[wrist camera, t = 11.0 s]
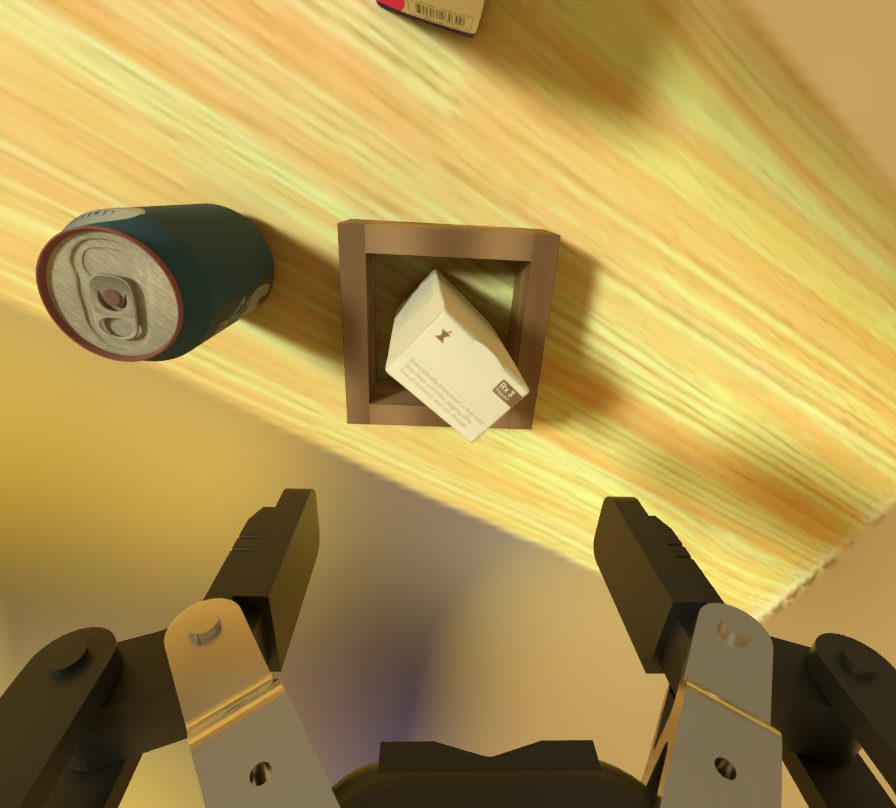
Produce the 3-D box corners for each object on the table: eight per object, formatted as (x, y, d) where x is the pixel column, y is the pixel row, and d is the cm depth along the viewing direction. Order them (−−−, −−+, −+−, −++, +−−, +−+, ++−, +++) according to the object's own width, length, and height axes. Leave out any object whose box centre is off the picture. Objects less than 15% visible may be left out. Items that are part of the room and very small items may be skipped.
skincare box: (393, 310, 32) (373, 373, 21) (437, 263, 30) (441, 303, 19) (455, 367, 33) (466, 451, 23) (499, 325, 32) (533, 393, 21)
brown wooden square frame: (357, 396, 34) (347, 423, 30) (350, 219, 29) (337, 223, 25) (519, 401, 35) (531, 429, 31) (543, 229, 29) (560, 235, 25)
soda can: (166, 194, 28) (-2, 195, 17) (280, 212, 29) (187, 225, 18) (178, 303, 31) (39, 363, 20) (280, 318, 32) (200, 383, 21)
